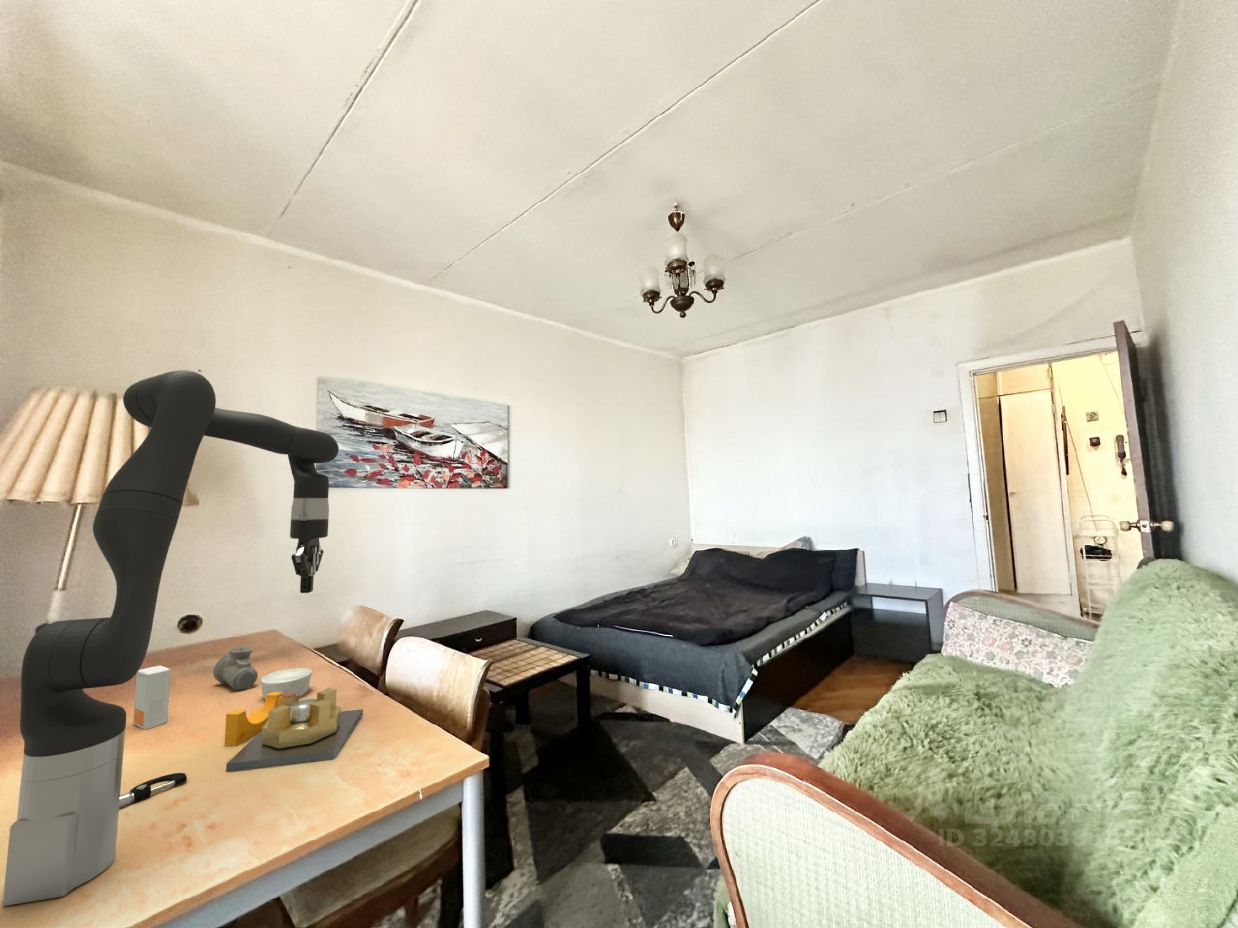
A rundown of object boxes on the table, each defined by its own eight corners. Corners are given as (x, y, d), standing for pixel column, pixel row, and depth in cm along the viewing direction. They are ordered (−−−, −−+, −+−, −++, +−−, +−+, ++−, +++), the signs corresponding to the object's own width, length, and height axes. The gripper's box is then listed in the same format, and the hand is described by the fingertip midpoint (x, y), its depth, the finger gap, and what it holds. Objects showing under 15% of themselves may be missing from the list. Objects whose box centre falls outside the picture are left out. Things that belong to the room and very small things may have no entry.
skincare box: (131, 724, 109) (136, 670, 110) (156, 717, 112) (160, 664, 113) (143, 730, 106) (147, 674, 107) (168, 722, 110) (172, 668, 111)
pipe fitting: (209, 684, 132) (217, 646, 133) (244, 678, 139) (252, 642, 140) (223, 699, 125) (231, 659, 126) (259, 692, 132) (267, 654, 133)
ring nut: (255, 752, 92) (257, 715, 93) (274, 724, 104) (276, 691, 105) (332, 739, 97) (334, 704, 98) (343, 714, 109) (344, 683, 110)
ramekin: (271, 707, 118) (272, 685, 118) (251, 698, 123) (252, 677, 124) (319, 692, 127) (320, 672, 128) (298, 684, 133) (299, 665, 133)
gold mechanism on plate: (334, 758, 93) (336, 718, 94) (224, 772, 89) (226, 729, 89) (362, 715, 112) (363, 682, 113) (273, 724, 108) (275, 690, 109)
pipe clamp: (264, 720, 111) (266, 691, 111) (281, 721, 110) (283, 692, 111) (216, 746, 99) (218, 713, 99) (235, 747, 98) (237, 714, 99)
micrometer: (178, 773, 89) (179, 758, 89) (191, 785, 85) (192, 770, 85) (55, 816, 77) (56, 799, 77) (63, 832, 73) (64, 815, 73)
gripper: (303, 517, 119) (299, 588, 117) (279, 518, 106) (275, 598, 105) (336, 517, 121) (333, 587, 119) (317, 518, 108) (313, 596, 106)
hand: (306, 592), depth 112 cm, fingers closed
